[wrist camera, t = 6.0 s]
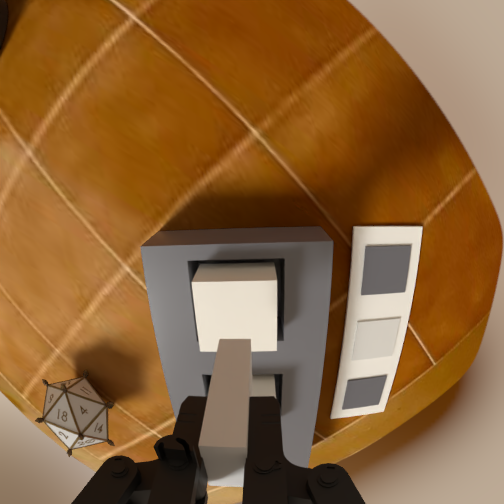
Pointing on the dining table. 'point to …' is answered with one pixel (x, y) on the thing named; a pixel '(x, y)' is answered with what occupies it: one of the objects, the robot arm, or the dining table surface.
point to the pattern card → (375, 316)
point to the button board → (288, 315)
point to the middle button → (263, 385)
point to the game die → (76, 413)
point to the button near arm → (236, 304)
